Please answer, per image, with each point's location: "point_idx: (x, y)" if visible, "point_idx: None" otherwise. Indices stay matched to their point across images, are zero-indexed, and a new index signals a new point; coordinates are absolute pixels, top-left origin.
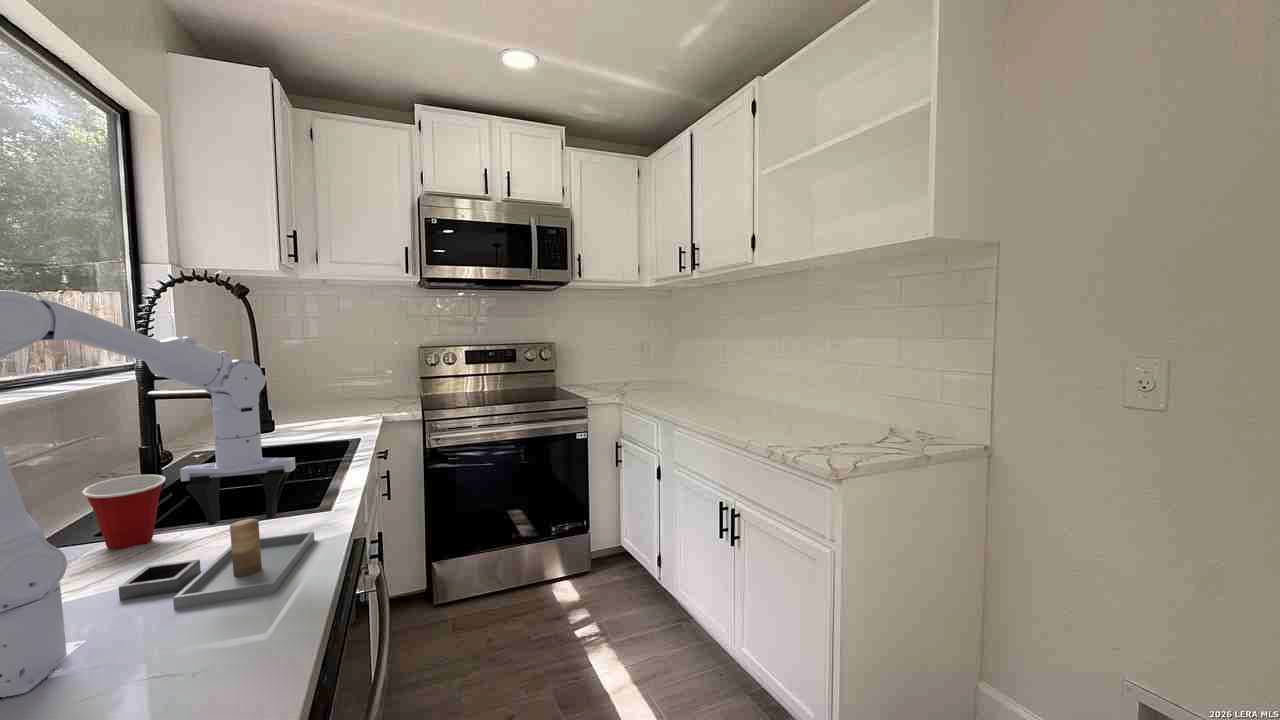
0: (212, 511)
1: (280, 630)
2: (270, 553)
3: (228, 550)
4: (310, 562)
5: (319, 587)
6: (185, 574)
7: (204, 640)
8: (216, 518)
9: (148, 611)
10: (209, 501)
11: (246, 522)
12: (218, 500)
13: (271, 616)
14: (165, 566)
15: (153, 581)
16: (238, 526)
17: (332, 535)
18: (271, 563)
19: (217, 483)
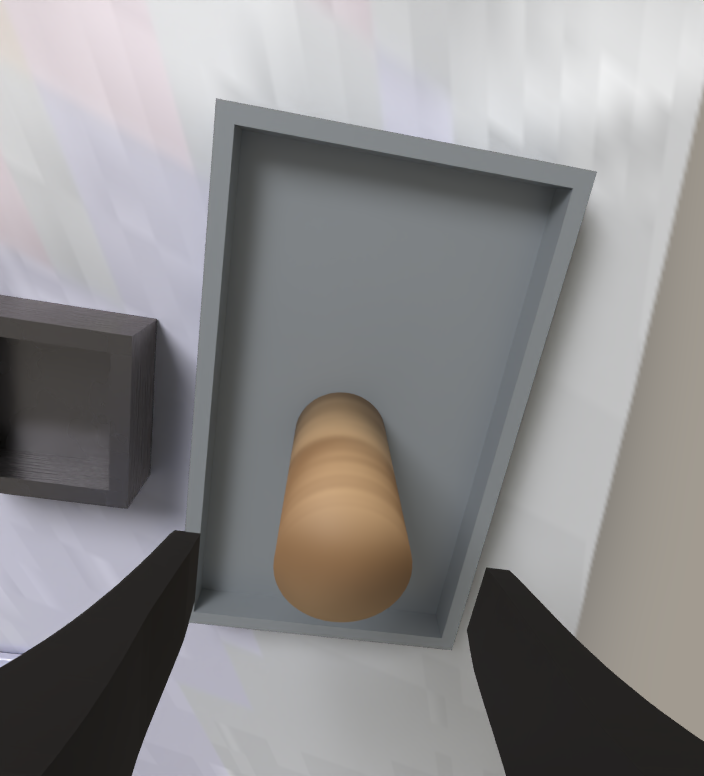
0: (165, 667)
1: (467, 759)
2: (395, 273)
3: (219, 242)
4: (540, 402)
5: (556, 605)
6: (133, 445)
7: (317, 736)
8: (190, 589)
9: (108, 541)
10: (130, 768)
11: (352, 564)
12: (150, 617)
13: (443, 699)
14: (7, 337)
15: (48, 493)
16: (324, 608)
17: (655, 91)
18: (412, 396)
19: (79, 773)
